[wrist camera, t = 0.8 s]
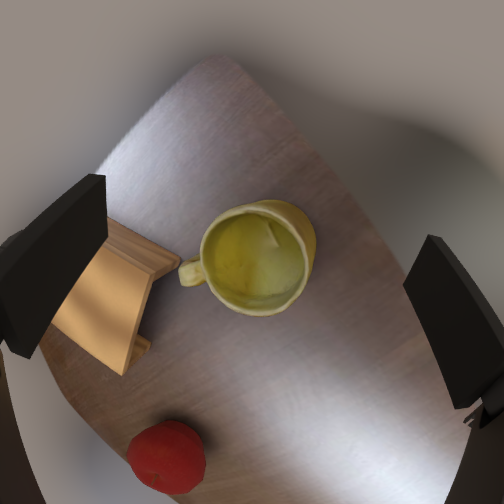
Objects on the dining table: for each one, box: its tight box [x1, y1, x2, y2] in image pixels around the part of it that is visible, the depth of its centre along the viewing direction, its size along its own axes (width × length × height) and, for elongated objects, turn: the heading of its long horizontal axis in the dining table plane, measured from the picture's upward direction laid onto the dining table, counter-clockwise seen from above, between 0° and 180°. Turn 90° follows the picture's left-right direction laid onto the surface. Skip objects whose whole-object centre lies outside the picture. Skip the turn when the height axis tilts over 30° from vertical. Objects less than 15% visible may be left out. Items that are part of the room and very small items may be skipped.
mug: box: [178, 200, 316, 317], centre depth 29 cm, size 12×10×10 cm
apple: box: [126, 420, 206, 495], centre depth 36 cm, size 11×11×12 cm
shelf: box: [51, 217, 181, 376], centre depth 34 cm, size 14×12×7 cm
